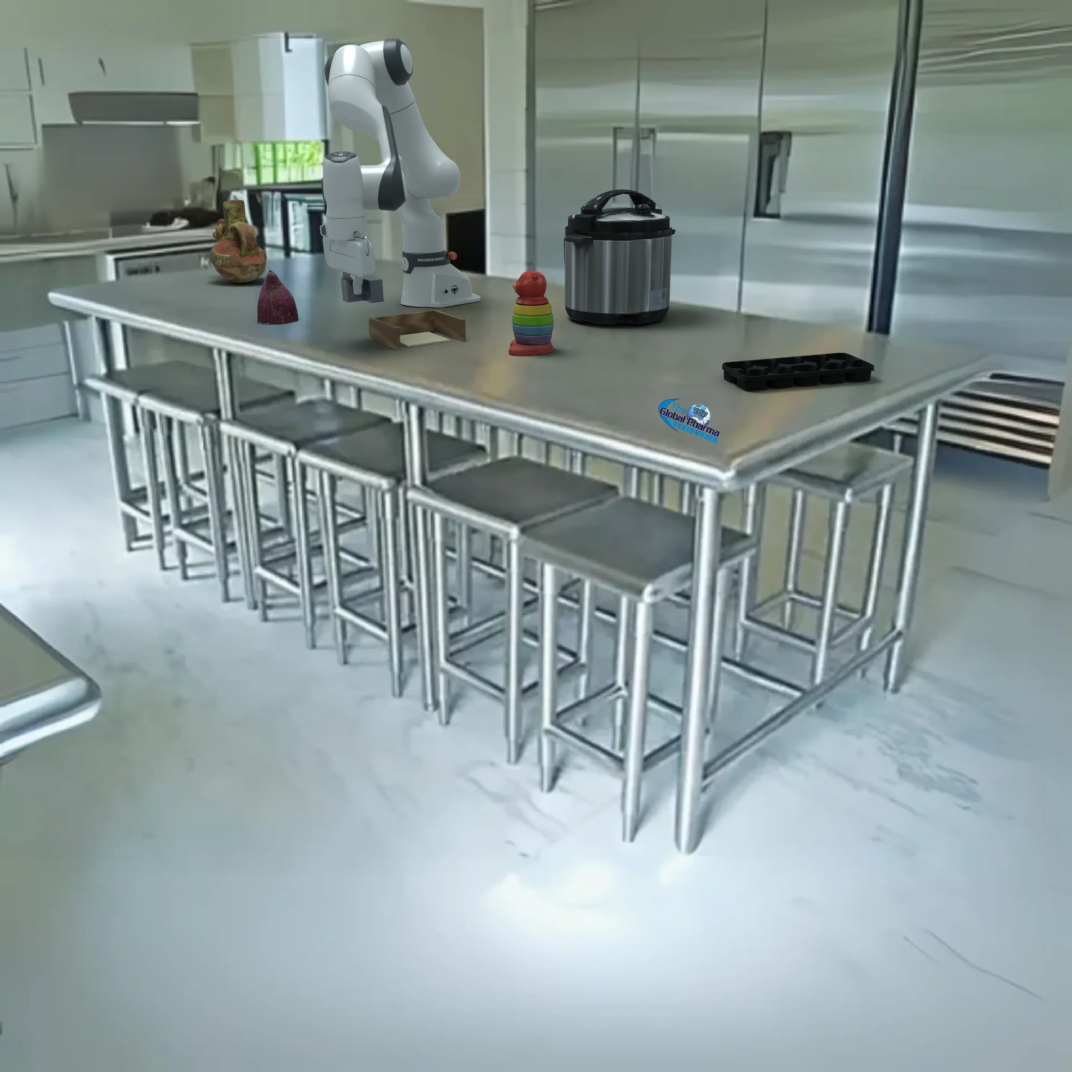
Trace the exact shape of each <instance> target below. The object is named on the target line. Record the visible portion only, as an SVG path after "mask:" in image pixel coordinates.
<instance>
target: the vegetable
mask: <svg viewBox="0 0 1072 1072" xmlns="http://www.w3.org/2000/svg"><path fill="white" fill-rule="evenodd" d="M260 288H261V289H260V292H259V295H258V299H257V309H256V310H257V311H256V313H257V316H256V319H257V320H256V321H257V323H259V322H261V323H260V324H264V323H269V324H268V325H282V324H281V323H285V324H290V323H293V322H297V321H299V311H298V307H297V303H296V300H295V297H294V296H293V294H292V293H291V292H290V291H289V289H288V287H286V285H285V284H284V283H283V282H282V281H281V279H280V278H279V276H278V275H277V273H275V272H274V271H273V270H271V269H268V272H267V273H266V276H265V280H264V282H263V283H262V286H261V287H260Z"/></svg>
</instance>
